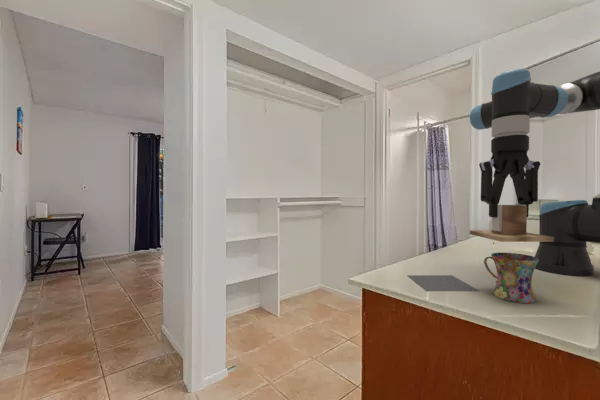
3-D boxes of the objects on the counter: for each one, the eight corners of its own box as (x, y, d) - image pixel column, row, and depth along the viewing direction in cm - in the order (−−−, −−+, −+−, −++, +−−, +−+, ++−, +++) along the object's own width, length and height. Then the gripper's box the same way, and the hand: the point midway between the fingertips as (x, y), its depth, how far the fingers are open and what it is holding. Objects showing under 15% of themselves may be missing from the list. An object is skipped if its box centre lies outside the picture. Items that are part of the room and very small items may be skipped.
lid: (514, 234, 76) (514, 204, 76) (554, 241, 64) (554, 206, 64) (469, 234, 76) (470, 204, 76) (500, 241, 64) (501, 206, 64)
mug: (547, 303, 67) (548, 258, 67) (522, 309, 63) (523, 262, 63) (495, 287, 78) (496, 249, 78) (472, 292, 74) (472, 252, 74)
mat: (451, 277, 88) (451, 275, 88) (480, 293, 74) (480, 290, 74) (406, 277, 88) (406, 275, 88) (426, 293, 74) (426, 291, 74)
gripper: (534, 139, 73) (532, 228, 74) (464, 139, 73) (463, 228, 74) (560, 133, 66) (558, 232, 66) (482, 133, 66) (481, 232, 67)
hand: (508, 230), depth 70 cm, fingers closed on lid, 5 cm apart
